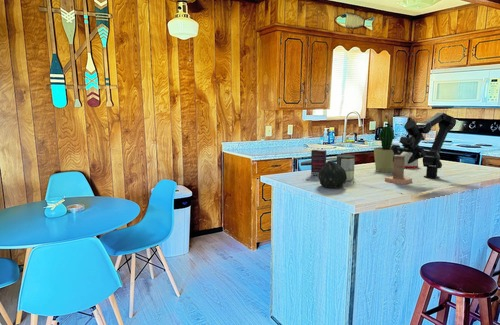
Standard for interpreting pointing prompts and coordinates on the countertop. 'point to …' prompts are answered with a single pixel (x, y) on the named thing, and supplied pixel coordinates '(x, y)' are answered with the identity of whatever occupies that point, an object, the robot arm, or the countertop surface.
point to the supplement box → (317, 161)
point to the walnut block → (398, 166)
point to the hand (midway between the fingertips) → (400, 162)
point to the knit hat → (407, 157)
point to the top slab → (398, 180)
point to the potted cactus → (384, 151)
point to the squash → (332, 175)
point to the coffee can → (347, 164)
